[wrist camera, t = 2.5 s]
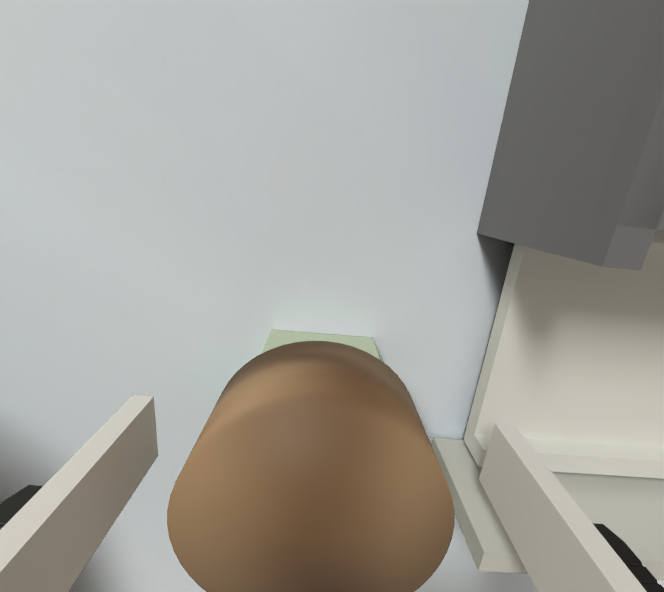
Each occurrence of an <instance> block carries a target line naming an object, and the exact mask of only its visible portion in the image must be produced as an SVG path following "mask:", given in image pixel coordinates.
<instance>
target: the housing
mask: <svg viewBox="0 0 664 592" xmlns="http://www.w3.org/2000/svg"><path fill="white" fill-rule="evenodd" d="M656 230H664V0H529V5H528V9H527V14H526V18H525V23H524V27H523V32H522V36H521V40H520V45H519V49H518V54H517V58H516V63H515V67H514V71H513V76H512V80H511V85H510V89H509V94H508V98H507V103H506V107H505V111H504V116H503V120H502V125H501V129H500V134H499V138H498V143H497V147H496V151H495V156H494V160H493V165H492V169H491V174H490V178H489V182H488V187H487V191H486V196H485V200H484V205H483V209H482V214H481V218H480V222H479V227H478V231H477V234H481V235H484V236H488V237H492V238H496V239H499V240H503V241H507V242H511V243H514V244H518V245H522V246H526V247H530V248H533V249H537V250H541V251H545V252H548V253H552V254H556V255H560V256H563V257H567V258H571V259H575V260H579V261H582V262H586V263H590V264H594V265H597V266H601V267H610V268H621V269H631V270H641V269H642V266H643V263H644V261H645V258H646V256H647V253H648V250H649V248H650V245H651V243H652V240H653V237H654V235H655V232H656Z"/></svg>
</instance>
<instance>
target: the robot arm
mask: <svg viewBox="0 0 664 592" xmlns="http://www.w3.org/2000/svg"><path fill="white" fill-rule="evenodd" d="M157 457H158V447H157V434H156V421H155V408H154V397H153V396H140V395H132V396H131V397H130V398H129V399H128V400H127V402H126V403H125V404H124V405H123V406H122V407H121V408H120V409H119V410H118V411H117V412H116V413H115V414H114V415H113V416H112V417H111V418H110V419H109V420H108V421H107V422H106V423H105V424H104V425H103V426H102V427H101V428H100V429H99V430H98V431H97V432H96V433H95V434H94V435H93V436H92V437H91V438H90V439H89V440H88V441H87V442H86V443H85V444H84V445H83V446H82V447H81V448H80V449H79V450H78V451H77V452H76V453H75V454H74V455H73V456H72V457H71V458H70V459H69V461H68V462H67V463H66V464H65V465H64V466H63V467H62V468H61V469H60V470H59V471H58V472H57V473H56V474H55V475H54V476H53V477H52V478H51V479H50V480H49V481H48V482H47V483H46V484H45V485H44V486H34V485H28V486H27V487H25V488H24V489H22V490H20V491H19V492H17V493H16V494H14V495H13V496H11V497H9V498H8V499H6V500H5V501H3V502H2V503H1V504H0V592H69V590H70V589H71V587H72V586H73V584H74V583H75V581H76V580H77V578H78V576H79V575H80V573H81V572H82V570H83V569H84V567H85V566H86V564H87V563H88V561H89V560H90V558H91V557H92V555H93V554H94V552H95V551H96V549H97V548H98V546H99V545H100V543H101V542H102V540H103V539H104V537H105V535H106V534H107V532H108V531H109V529H110V528H111V526H112V525H113V523H114V522H115V520H116V519H117V517H118V516H119V514H120V513H121V511H122V510H123V508H124V507H125V505H126V504H127V502H128V501H129V499H130V498H131V496H132V495H133V493H134V491H135V490H136V488H137V487H138V485H139V484H140V482H141V481H142V479H143V478H144V476H145V475H146V473H147V472H148V470H149V469H150V467H151V466H152V464H153V463H154V461H155V460H156V458H157ZM479 480H480V482H481V484H482V486H483V488H484V490H485V492H486V494H487V496H488V498H489V499H490V501H491V503H492V505H493V507H494V509H495V511H496V513H497V515H498V517H499V519H500V521H501V522H502V524H503V526H504V528H505V530H506V532H507V534H508V536H509V538H510V540H511V542H512V544H513V546H514V547H515V549H516V551H517V553H518V555H519V557H520V559H521V561H522V563H523V565H524V567H525V569H526V571H527V572H528V574H529V576H530V578H531V580H532V582H533V584H534V586H535V588H536V590H537V592H664V588H663V587H662V586H661V585H659V584H658V583H657V580H656V579H655V577H654V576H653V575H652V574H651V573H650V571H649V570H648V569H647V568H646V567H644V566H643V565H642V562H641V561H640V560H639V558H638V557H637V556H636V555H635V554H634V552H633V551H632V550H631V549H630V548H629V547H628V545H627V544H626V543H625V542H624V541H623V540H622V539H620V538H619V537H618V536H617V535H616V534H615V533H613V532H612V531H611V530H610V529H609V528H607V527H606V526H605V525H604V524H596V523H592V522H591V521H590V520H589V518H588V517H587V516H586V515H585V513H584V512H583V511H582V510H581V508H580V507H579V506H578V504H577V503H576V502H575V501H574V499H573V498H572V497H571V496H570V494H569V493H568V492H567V491H566V489H565V488H564V487H563V486H562V484H561V483H560V482H559V481H558V479H557V478H556V477H555V476H554V474H553V473H552V472H551V471H550V469H549V468H548V467H547V466H546V464H545V463H544V462H543V460H542V459H541V458H540V457H539V455H538V454H537V453H536V452H535V450H534V449H533V448H532V447H531V445H530V444H529V443H528V442H527V440H526V439H525V438H524V437H523V435H522V434H521V433H520V432H519V430H518V429H517V428H516V427H515V425H507V424H495V426H494V429H493V432H492V436H491V439H490V443H489V446H488V450H487V453H486V456H485V460H484V463H483V467H482V470H481V474H480V477H479Z"/></svg>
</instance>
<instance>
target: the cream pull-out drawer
mask: <svg viewBox="0 0 664 592" xmlns="http://www.w3.org/2000/svg"><path fill="white" fill-rule="evenodd" d="M495 424H507V425H515V427H516V428H517V429H518V430H519V432H520V433H521V434H522V435H523V437H524V438H525V439H526V440H527V442H528V443H529V444H530V445H531V447H532V448H533V449H534V450H535V452H536V453H537V454H538V455H539V457H540V458H541V459H542V460H543V462H544V463H545V464H546V466H547V467H548V468H549V469H550V471H551V472H552V473H553V474H554V476H555V477H556V478H557V479H558V481H559V482H560V483H561V484H562V486H563V487H564V488H565V489H566V491H567V492H568V493H569V494H570V496H571V497H572V498H573V499H574V501H575V502H576V503H577V504H578V506H579V507H580V508H581V510H582V511H583V512H584V513H585V515H586V516H587V517H588V518H589V520H590V521H591V522H592V523H596V524H604V525H605V526H606V527H607V528H609V529H610V530H611V531H612V532H613V533H615V534H616V535H617V536H618V537H619V538H620V539H622V540H623V541H624V542H625V543H626V544H627V545H628V547H629V548H630V549H631V550H632V551H633V552H634V554H635V555H636V556H637V557H638V558H639V560H640V561H641V562H642V565H643V566H644V567H646V568H647V569H648V570H649V571H650V573H651V574H652V575H653V576H654V577H655V579H656V580H664V230H656V232H655V235H654V237H653V240H652V243H651V245H650V248H649V250H648V253H647V256H646V258H645V261H644V263H643V266H642V269H641V270H631V269H621V268H610V267H601V266H597V265H594V264H590V263H586V262H582V261H579V260H575V259H571V258H567V257H563V256H560V255H556V254H552V253H548V252H545V251H541V250H537V249H533V248H530V247H526V246H522V245H518V244H514V248H513V252H512V255H511V259H510V263H509V267H508V271H507V275H506V278H505V282H504V286H503V290H502V294H501V298H500V301H499V305H498V309H497V313H496V317H495V321H494V324H493V328H492V332H491V336H490V340H489V343H488V347H487V351H486V355H485V359H484V363H483V366H482V370H481V374H480V378H479V382H478V386H477V389H476V393H475V397H474V401H473V405H472V409H471V412H470V416H469V420H468V424H467V428H466V431H465V435H464V439H463V440H459V439H444V438H434V439H433V443H432V448H433V451H434V453H435V455H436V458H437V460H438V463H439V465H440V467H441V470H442V472H443V475H444V477H445V479H446V482H447V484H448V487H449V490H450V493H451V496H452V500H453V506H454V512H455V515H456V517H457V520H458V522H459V525H460V527H461V530H462V532H463V535H464V537H465V540H466V542H467V545H468V547H469V550H470V552H471V555H472V557H473V560H474V562H475V564H476V567H477V569H478V571H487V572H507V573H528V572H527V571H526V569H525V567H524V565H523V563H522V561H521V559H520V557H519V555H518V553H517V551H516V549H515V547H514V546H513V544H512V542H511V540H510V538H509V536H508V534H507V532H506V530H505V528H504V526H503V524H502V522H501V521H500V519H499V517H498V515H497V513H496V511H495V509H494V507H493V505H492V503H491V501H490V499H489V498H488V496H487V494H486V492H485V490H484V488H483V486H482V484H481V482H480V480H479V477H480V474H481V470H482V467H483V463H484V460H485V456H486V453H487V450H488V446H489V443H490V439H491V436H492V432H493V429H494V426H495Z"/></svg>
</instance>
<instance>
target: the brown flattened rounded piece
mask: <svg viewBox="0 0 664 592" xmlns="http://www.w3.org/2000/svg"><path fill="white" fill-rule="evenodd" d="M167 526H168V532H169V538H170V541H171V544H172V547H173V550H174V552H175V554H176V556H177V558H178V560H179V562H180V563H181V565H182V566H183V568H184V569H185V570H186V572H187V573H188V574H189V576H190V577H191V578H192V579H193V580H194V581H195V582H196V583H197V584H198V585H199V586H200V587H201V588H203V589H204V590H205V591H206V592H414V591H416V590H417V589H418V588H419V587H421V586H422V585H423V584H424V583H425V582H426V581H427V580H428V579H429V578H430V577H431V576H432V574H433V573H434V572H435V570H436V569H437V568H438V566H439V565H440V564H441V562H442V560H443V558H444V556H445V555H446V553H447V550H448V548H449V545H450V542H451V539H452V535H453V529H454V506H453V500H452V496H451V493H450V490H449V487H448V484H447V482H446V479H445V477H444V475H443V472H442V470H441V467H440V465H439V463H438V460H437V458H436V455H435V453H434V451H433V448H432V446H431V443H430V441H429V439H428V436H427V434H426V432H425V429H424V427H423V424H422V422H421V420H420V417H419V415H418V412H417V410H416V408H415V405H414V403H413V400H412V398H411V396H410V394H409V392H408V390H407V388H406V386H405V385H404V383H403V382H402V381H401V379H400V378H399V377H398V375H397V374H396V373H395V372H394V371H393V370H392V369H391V368H390V367H389V366H387V365H386V364H385V363H383V362H382V361H381V360H379V359H378V358H376V357H374V356H373V355H371V354H369V353H367V352H365V351H363V350H360V349H358V348H355V347H353V346H349V345H345V344H342V343H336V342H329V341H302V342H295V343H290V344H286V345H282V346H279V347H276V348H273V349H270V350H268V351H266V352H264V353H262V354H260V355H258V356H256V357H255V358H254V359H252V360H251V361H249V362H248V363H246V364H245V365H244V366H243V367H242V368H241V369H240V370H238V371H237V372H236V373H235V375H234V376H233V377H232V378H231V380H230V381H229V382H228V384H227V385H226V387H225V389H224V390H223V392H222V394H221V396H220V398H219V399H218V401H217V403H216V405H215V407H214V409H213V411H212V413H211V415H210V417H209V419H208V421H207V423H206V424H205V426H204V428H203V430H202V432H201V434H200V436H199V438H198V440H197V442H196V444H195V446H194V448H193V449H192V451H191V453H190V455H189V457H188V459H187V461H186V463H185V465H184V467H183V469H182V471H181V473H180V474H179V476H178V478H177V480H176V482H175V485H174V488H173V490H172V493H171V495H170V500H169V505H168V511H167Z"/></svg>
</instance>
